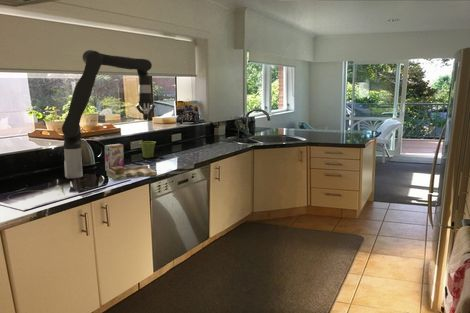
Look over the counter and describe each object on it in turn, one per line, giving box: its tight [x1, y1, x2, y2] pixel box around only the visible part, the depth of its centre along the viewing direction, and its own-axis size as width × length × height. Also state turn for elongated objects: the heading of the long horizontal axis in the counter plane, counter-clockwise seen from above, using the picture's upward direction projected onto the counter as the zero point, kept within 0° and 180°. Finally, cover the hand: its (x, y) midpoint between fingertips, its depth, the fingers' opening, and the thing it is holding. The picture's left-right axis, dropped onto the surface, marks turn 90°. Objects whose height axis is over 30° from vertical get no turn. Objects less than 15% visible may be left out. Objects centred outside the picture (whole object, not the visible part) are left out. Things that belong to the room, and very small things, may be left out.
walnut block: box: [111, 166, 125, 174], centre depth 239 cm, size 6×6×4 cm
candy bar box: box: [104, 143, 125, 172], centre depth 255 cm, size 11×5×16 cm, turn 141°
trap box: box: [106, 164, 158, 181], centre depth 243 cm, size 26×14×4 cm, turn 125°
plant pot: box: [139, 140, 157, 159], centre depth 299 cm, size 12×12×11 cm
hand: (145, 120), depth 253 cm, fingers closed
